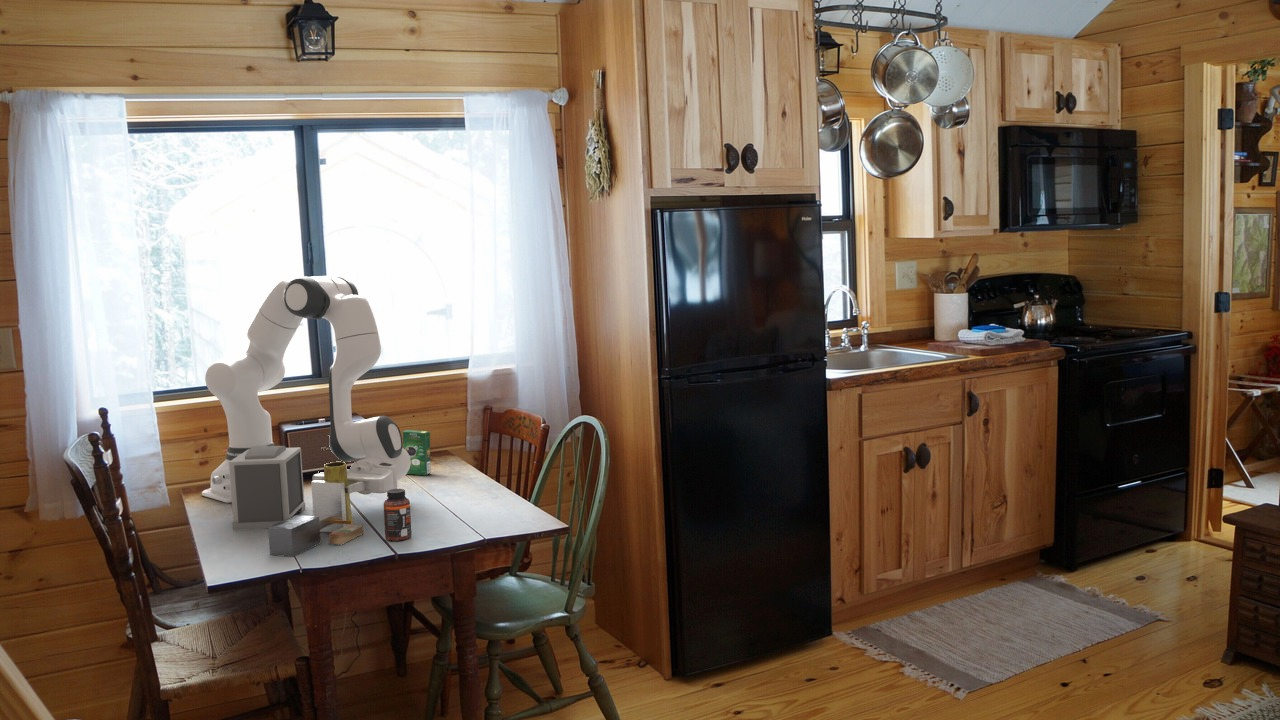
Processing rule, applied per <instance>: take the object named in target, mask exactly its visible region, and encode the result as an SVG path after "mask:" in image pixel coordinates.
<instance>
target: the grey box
mask: <svg viewBox="0 0 1280 720" xmlns="http://www.w3.org/2000/svg"><path fill="white" fill-rule="evenodd" d="M229 470H230V484H231V497H232V502H231V508H232V520H233V521H232V530H234V531H241V530H242V531H243V530H265V529H267V528H268V527H270V526H272V525H274V524H277V523H279V522H282V521H284V520H286V519H289V518H291V517H293V516H295V514H297V513H298V512H302V513H303V512H305V510H306V509H305V508H306V502H305V493H304V492H305V491H304V489H305V488H304V477H303V461H302V448H301V447H299V446H298V447H286V446H285V445H274V446H263V447H252V448H251V449H248V450H247V451H245V452H243V453H242V454H240V455H239V456H237V457H236V458H234V459H233V460H231V461H230V462H229ZM298 514H299V513H298ZM267 530H268V529H267Z"/></svg>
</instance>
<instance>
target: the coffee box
mask: <svg viewBox="0 0 1280 720" xmlns="http://www.w3.org/2000/svg"><path fill="white" fill-rule="evenodd" d="M402 447H403V449H405V450H406V451H407V452H408V454H409V456H410V460H411V465H410V468H409V470H408V472H407V474H406V475H408V474H415V475H416V476H422V475H423V476H425V475H427V476H429V475H428V474H430V473H431V474H432V463H431V432H430V431H427V430H412V429H405V430H402ZM431 474H430V475H431ZM415 475H414V476H415Z"/></svg>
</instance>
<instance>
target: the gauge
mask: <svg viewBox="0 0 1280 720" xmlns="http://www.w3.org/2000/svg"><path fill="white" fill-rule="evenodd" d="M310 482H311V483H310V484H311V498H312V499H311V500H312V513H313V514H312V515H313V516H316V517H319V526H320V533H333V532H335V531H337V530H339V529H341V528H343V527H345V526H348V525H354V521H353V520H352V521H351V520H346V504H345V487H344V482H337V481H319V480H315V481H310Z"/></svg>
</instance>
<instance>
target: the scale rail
mask: <svg viewBox="0 0 1280 720" xmlns="http://www.w3.org/2000/svg"><path fill="white" fill-rule="evenodd" d="M361 534H363V535H364V527H363V525H361V524H347V526H345V527H343V528H341V529H339V530H337V531H335V532H333V533H332V532H330V533H329V536H328V545H329V544H338V545H337V546H340V545H341V544H343V543H345V542H347V541H349V540H351V539H353V538H355V537H357V536H359V535H361ZM361 536H362V535H361ZM359 537H360V536H359ZM357 538H358V537H357ZM355 539H356V538H355ZM353 540H354V539H353ZM351 541H352V540H351ZM349 542H350V541H349ZM347 543H348V542H347ZM339 544H340V545H339ZM345 544H346V543H345ZM343 545H344V544H343ZM341 546H342V545H341Z"/></svg>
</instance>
